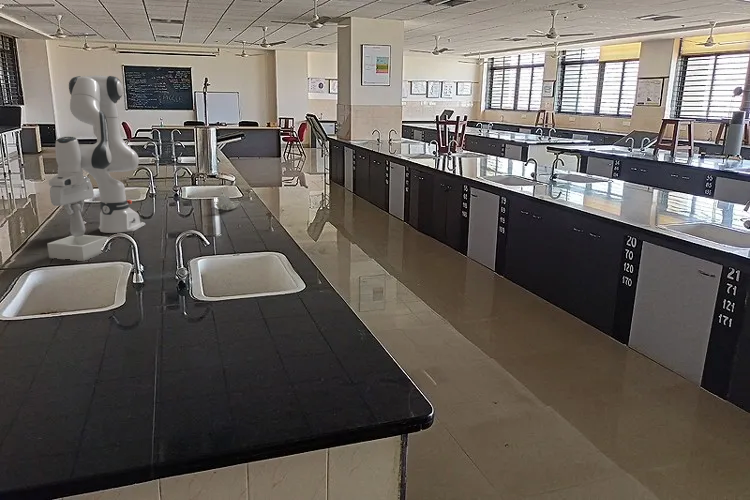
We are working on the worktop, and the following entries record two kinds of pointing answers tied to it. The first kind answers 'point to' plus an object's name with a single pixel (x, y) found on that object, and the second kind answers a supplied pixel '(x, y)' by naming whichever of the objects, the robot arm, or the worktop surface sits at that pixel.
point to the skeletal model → (225, 202)
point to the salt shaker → (76, 221)
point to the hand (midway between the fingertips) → (75, 212)
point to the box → (77, 247)
